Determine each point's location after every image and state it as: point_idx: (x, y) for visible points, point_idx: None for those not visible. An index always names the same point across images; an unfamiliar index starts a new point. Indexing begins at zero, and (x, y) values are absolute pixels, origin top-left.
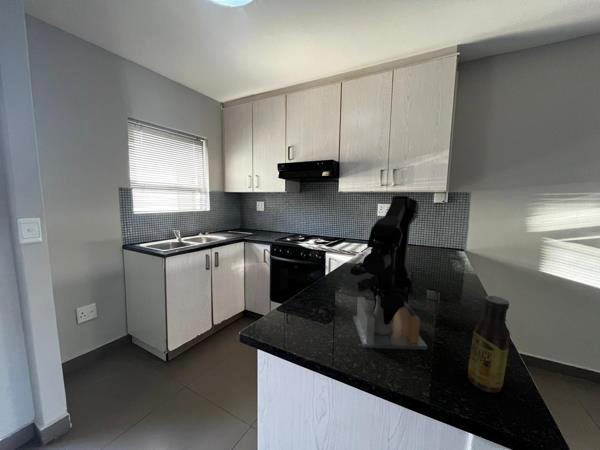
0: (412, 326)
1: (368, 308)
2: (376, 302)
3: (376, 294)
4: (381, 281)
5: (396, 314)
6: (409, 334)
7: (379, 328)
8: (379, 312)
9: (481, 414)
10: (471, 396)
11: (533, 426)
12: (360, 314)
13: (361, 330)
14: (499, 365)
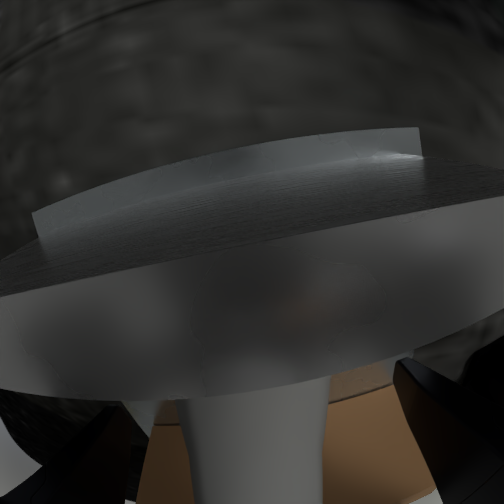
0: (140, 494)
1: (117, 383)
2: (432, 411)
3: (483, 475)
4: None
5: (371, 426)
6: (165, 450)
7: None
8: (191, 440)
9: (14, 426)
10: (41, 438)
11: (44, 462)
12: (281, 185)
13: (181, 187)
14: None
